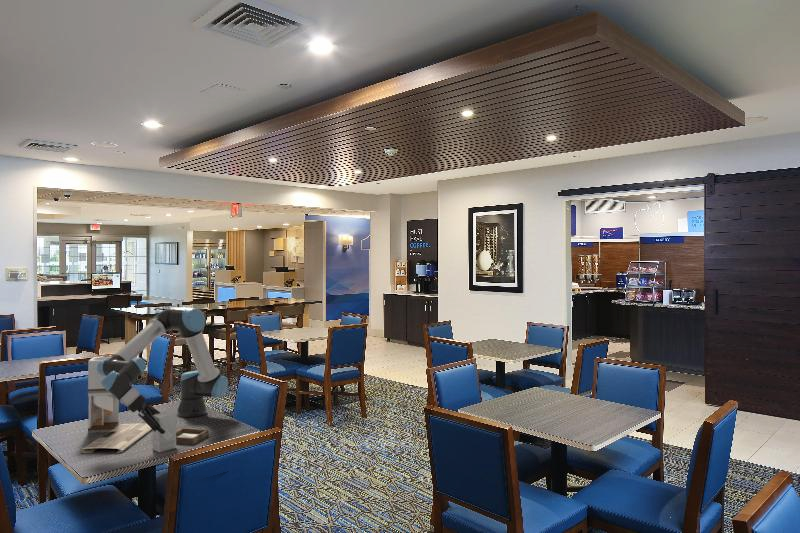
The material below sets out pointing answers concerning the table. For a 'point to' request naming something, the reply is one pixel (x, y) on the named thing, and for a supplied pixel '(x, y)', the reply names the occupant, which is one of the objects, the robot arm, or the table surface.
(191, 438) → the walnut tray
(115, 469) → the table surface
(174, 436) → the skincare box
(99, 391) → the paper towel dispenser
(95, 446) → the newspaper
